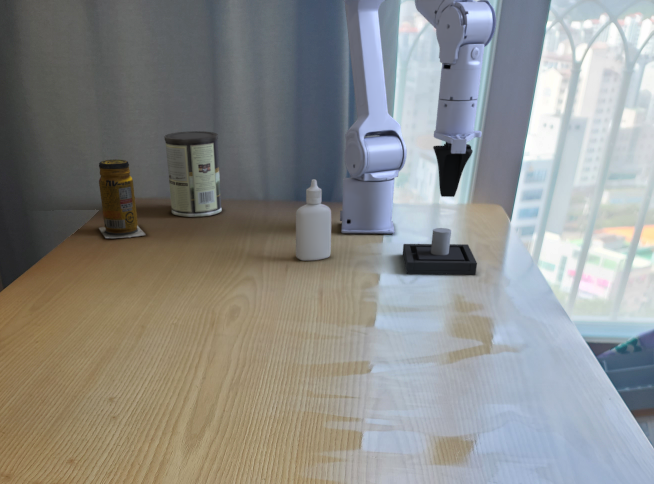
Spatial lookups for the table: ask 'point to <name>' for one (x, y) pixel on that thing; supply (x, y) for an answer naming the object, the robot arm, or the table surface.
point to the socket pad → (439, 262)
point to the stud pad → (430, 257)
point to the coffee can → (193, 173)
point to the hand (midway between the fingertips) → (447, 195)
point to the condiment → (118, 200)
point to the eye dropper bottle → (313, 227)
